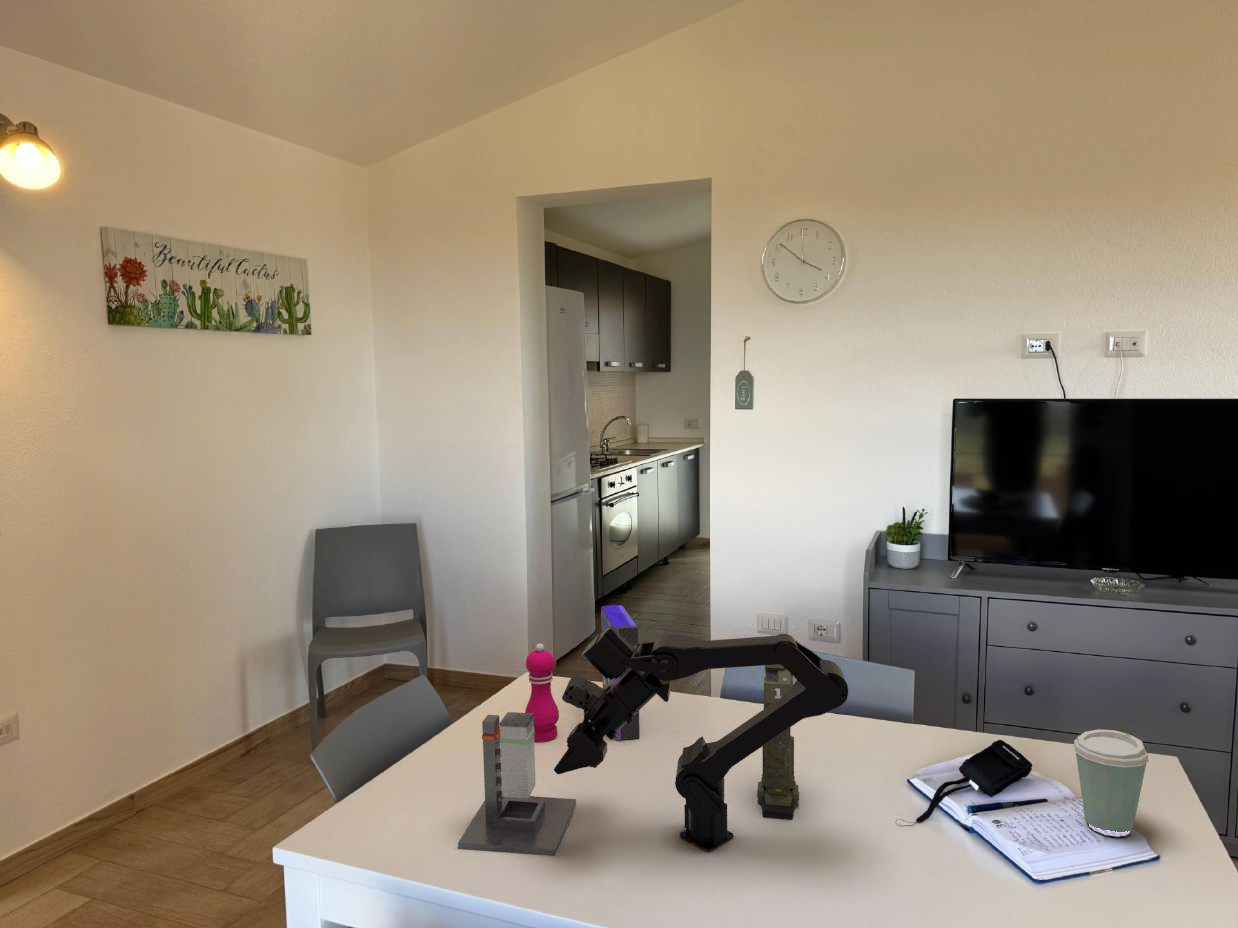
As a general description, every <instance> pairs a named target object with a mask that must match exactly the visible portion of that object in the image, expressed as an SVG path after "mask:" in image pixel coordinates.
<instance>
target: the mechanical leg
mask: <svg viewBox="0 0 1238 928" xmlns="http://www.w3.org/2000/svg"><path fill="white" fill-rule="evenodd" d="M764 672H765V677H764V678H763V709H765V708H766V707H768V706H769V705H771V704H772V703H774V702H775V701H776V700H778V699H779V698H781V697H782V696H784V695H785V694H786V693H787V692H788V691H789V690H790V689H791V687H792V686H793V685H794V676H793V675H792V674H791V673H790V672H789V671H788V670H787V669H786V668H784V667H783V666H782V665H780V664H777V665H764ZM791 729H792V727H790V728H789V729H787V730H786V731H784V732H783V733H781V734H780V735H778V736H777V737H775V738H774V739H772V740H771V741H770V742H768V743H767V744H765V745H764V746H762V747H761V748H762V749H761V750H762V774H761V779H760V781H758V782H757V789H756V790H757V791H756V792H757V793H756V795H757V796H756V797H757V803H758V804H760V807H761V814H762V815H761V816H762V818H764V819H765V818H766V819H775V820H788V821H792V820H794V817H795V816H794V815H795V810H796V807H798V806H799V801H800V792H799V784H797V783H796V778H795V737H794V736H793V735H791Z"/></svg>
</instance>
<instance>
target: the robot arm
mask: <svg viewBox="0 0 1238 928" xmlns="http://www.w3.org/2000/svg"><path fill="white" fill-rule="evenodd" d="M581 656H582V657H583V658H584V659H585V660H586V661H587V662H588V663H589V664H590V665H592V667H593V668H595V670H597V672H599V674H600V675H602V677H603V676H604V677H605V678H606V679H608V678H609V679H610V680H612V679H613V678H615V679H617V678H618V677H619V676H621V675H622V674H623V673H624V671H625V670H626V669H627V668H628V667H630V668H631V669H630V670H629V671H628V672H627V673H626V674H625V675H624V676H623V677H622V678H621V679H620V680H619V681H618V682H617V683H616V684H614V685H613V684H612V685H608V686H607V687H606V688H605V689H603V687H601V686H599V685H598V684H597V683H595V682H593V681H591V680H590V679H587V678H585V677H583V676H581V675H579V674H573V675H572V676H571V677H570V679H569V680H568V682H567V685H566V687H565V690H564V691H563V693H562V696H561V700H562V701H563V702H564V703H566V704H570V705H572V706H574V707H576V708H578V709H581V710H583V720H582V722H579V723H578V724H576V726H574V728H573V729H572V730H571V731H570V732H569V734H568V736H567V738H566V743H567V744H566V746H567V749H566V751H565V752H564V754H563V755H562V757H561V758H560V759H559V761H558V762H557V763H556V765H555V767H553V772H555V773H556V775H562V774H565V773H569V772H572V771H577V770H579V769H585V768H588V767H589V768H594V769H596V768H597V767H598V766H599V765H601V763H603V761H604V760H605V757H606V755H607V754H608V743H607V742H606V740H604V738H605V736H606V737H607V738H608V739H609V740H610V741H612V740H613V739H615V736H616V734H617V731H618V730H619V729H620V728H621V727H622V726H624V725H625V724H626V723H628V724H629V723H630V722H631V721H632V720H633V718H634V716H635V714H636V713H637V712H638V711H639V712H640V710H641V709H642V708H644V707H645V706H646V705H647V704H648V703H649V702H650V701H651V700H653V698H654V697H655V696H656V695H657V696H658V697H659V698H660V699H661V700H662V701H663V702H665V703H668V702H669V698H670V696H671V695H670V694H671V688H670V687H671V683H672V682H673V681H676V680H681V679H685V678H688V677H691V676H694V675H697V674H698V673H700V672H702V671H707V670H714V669H715V670H718V669H729V668H731V669H732V668H744V667H746V668H747V667H757V666H759V667H761V666H765V665H777V664H780V665H782V666H783V667H784V668H786V669H787V670H788V671H789V672H790V673H791V674H792V675H793V678H794V679H795V683H794V682H793V686H792V687H791V689H790V690H789V691H788V692H787V693H786V694H785V695H784V696H782V697H781V698H779V699H778V700H776V701H775V702H774V703H772V704H771V705H769V706H768V707H766V708H765V709H764V708H763V709H762V710H760V712H757V713H756V714H755V715H753V716H752V717H750V718H749V719H747V720H746V721H744V722H743V723H741V724H740V725H739V726H738V727H736V728H735V729H733V730H731V731H730V732H728V733H727V734H726V735H724V736H723V737H721V738H720V739H718V740H716V741H711V742H706V740H705V738H704V736H700V737H699V738H698V739H696V741H695V742H694V743H693V744H691V745H689V746H686V747H683V748H682V754H680V756H679V758H678V761H677V766H676V773H675V781H674V785H675V789H676V792H677V793H678V794H679V795H680V796H681V797H682V798H684V799H685V804H684V806H683V808H684V830H683V831H681V832H679V838H681V839H683V840H685V841H686V842H688V843H691V844H692V845H694V846H696V847H698V848H699V849H702V850H704V851H706V852H712V851H714V849H717V848H718V847H719V846H722V845H723V844H726V842H728V841H730V840H732V839H733V838H734V837H735V836H734V832H731V831H729V830H728V803H726V802H725V777H726V775H727V774H728V773H729V771H730V770H731V769H732V768H733V767H734V766H736V765H738V764H739V763H740V762H741V761H743V760H744V759H746V758H747V757H749V756H751V755H752V754H753V753H755V752H756V751H758V750H759V749H761V748H762V746H764V745H765V744H767V743H768V742H770V741H771V740H772V739H774V738H775V737H777V736H778V735H780V734H781V733H783V732H784V731H786V730H787V729H789V728H790V727H791V728H792V727H793V726H794V725H796V724H798V723H799V722H801V721H802V720H804V719H808V718H809V719H810V718H813V717H819V716H820V717H821V716H822V715H825V714H827V713H830V712H831V711H834V710H836V709H838V708H840V707H842V706H843V705H844V704H845V703H846V701H847V700H848V697H849V686H848V683H847V680H846V678H845V676H844V673H843V670H842V668H841V666H839V665H838V664H837V662H834V661H832V660H828V659H824V658H821V657H820V656H819V655H818V654H816V653H815V652H814V651H813V650H812V649H810V648H808V647H807V646H805V645H803V644H801V642H798V640H796V639H795V638H794V637H793V635H791V634H788V633H779V634H777V635H768V636H767V635H766V636H755V637H754V636H753V637H739V638H737V637H736V638H727V639H714V640H713V639H711V640H710V639H709V640H704V639H697V638H695V637H691V636H685V635H677V634H676V635H675V634H665V635H662V636H659V637H658V638H657V639H656V640H655V641H646V642H638V643H636V644H635V645H634V647H633V646H631V645H630V644H629V643H628V642H627V641H626V640H625V639H624V638H623V637H622V636H621V635H620V633H619V632H618V630H617V629H616V628H615V627H614V626H610V627H609V628H608V629H607V630H605V631H604V632H603V633H602V632H601V633H600V634H599V633H598V634H597V635H596V636H595V637H594V639H593V640H591V642H590V643H589V644H588V645H587V646H586V648H585V649H584V650H583V652H582V653H581ZM671 681H672V682H671Z"/></svg>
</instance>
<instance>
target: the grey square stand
mask: <svg viewBox="0 0 1238 928" xmlns="http://www.w3.org/2000/svg"><path fill="white" fill-rule="evenodd" d="M500 722H501V721H500V715H499V714H487V716H485V718H484V719H483V720H482V723H481V725H482V726H481V727H482V728H481V729H482V735H481V740H482V748H483V749H482V752H483V753H482V754H483V755H482V756H483V778H484V779H483V780H484V781H483V784H484V785H483V786H484V801H483V802H482V804H481V805H480V807H479V808H478V810H477V811H476V813H475V815H474V816H473V818H472V819H471V822H470V823H469V824H468V826H467V828H466V830H464V833H463V834H462V835H461V837H460V839H459V840H458V842H457V845H458V849H461V850H463V849H464V850H476V851H477V850H478V851H487V852H488V851H489V852H490V851H491V852H501V853H502V852H503V853H504V852H505V853H515V854H516V853H517V854H530V855H542V856H556V855H557V853H558V851H559V848H560V845H561V843H562V840H563V838H564V835H565V833H566V832H567V831H566V830H567V829H568V826H569V823H570V821H571V819H572V816H573V813H574V811H575V808H576V807H577V798H564V797H563V798H562V797H549V796H548V797H547V796H535V795H534V796H533V795H530V797H529V798H515V797H502V776H501V745H500Z"/></svg>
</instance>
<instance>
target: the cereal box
mask: <svg viewBox="0 0 1238 928" xmlns="http://www.w3.org/2000/svg"><path fill="white" fill-rule="evenodd" d="M600 608H601V610H600V611H601V612H600V613H601V633H603V632H604V631H605V630H607V629H608V628H609V627H610V626H614V627H615V628H616V629H617V630H618V632H619V633H620V635H621V636H622V637H623V638H624V639H625V640H626V641H627V642H628V643H629V644H630V645H631V646H633V647H634V645H635V644H636V643H639V627H638V626H637V624H636V623H635V621H634V620H633V619H632V617H631V616H630V614H629V613H628V611H627V610H626V609H625V607H624V606H623V605H618V604H617V605H616V604H615V605H614V604H612V605H603V606H601V607H600ZM630 669H631V668H630V667H628V668H627V669H626V670H625V671H624V673H623V674H622V675H621V676H619V677H618V678H617V679H615V678H613V679H612V680H610V679H609V678H608V679H606V678H605V677H604V676H603V675H602V688H603V689H605V688H606V687H607V686H608V685H612V684H613V685H614V684H616V683H617V682H618V681H619V680H620V679H621V678H622V677H623V676H624V675H625V674H626V673H627V672H628V671H629V670H630ZM614 739H615V740H616V742H617V741H618V742H627V741H636V740H637V741H638V740H640V739H641V738H640V710H639V711H638V712H637V713H636V714H635V716H634V718H633V720H632V721H631V722H630V723H629V724H628V723H626V724H625V725H624V726H622V727H621V728H620V729H619V730H618V731H617V734H616V736H615V737H614Z"/></svg>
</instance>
